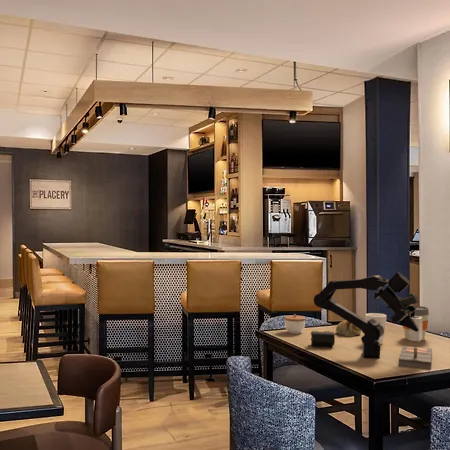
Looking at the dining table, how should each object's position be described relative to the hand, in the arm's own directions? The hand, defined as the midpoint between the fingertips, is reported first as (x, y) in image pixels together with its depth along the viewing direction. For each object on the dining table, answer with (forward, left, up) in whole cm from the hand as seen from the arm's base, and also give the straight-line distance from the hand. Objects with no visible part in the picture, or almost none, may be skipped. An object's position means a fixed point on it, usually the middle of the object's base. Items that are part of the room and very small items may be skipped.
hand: (419, 329), depth 221 cm
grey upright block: (-1, +1, -4) cm, 4 cm away
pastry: (-18, +55, -14) cm, 59 cm away
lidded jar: (-45, +56, -14) cm, 73 cm away
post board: (0, +5, -13) cm, 15 cm away
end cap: (-35, +27, -14) cm, 46 cm away
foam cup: (-9, +36, -14) cm, 39 cm away
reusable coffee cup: (+12, +46, -14) cm, 49 cm away
